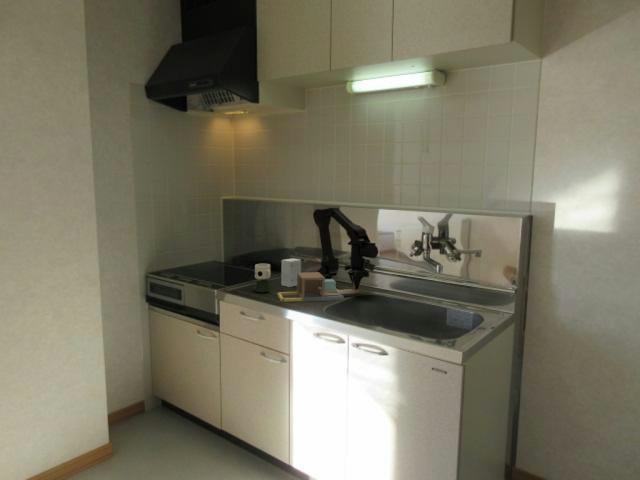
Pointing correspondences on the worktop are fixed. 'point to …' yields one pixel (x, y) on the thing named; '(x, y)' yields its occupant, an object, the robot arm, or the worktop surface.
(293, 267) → the small box
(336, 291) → the sled
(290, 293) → the tunnel track
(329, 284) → the block
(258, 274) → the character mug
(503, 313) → the worktop surface
